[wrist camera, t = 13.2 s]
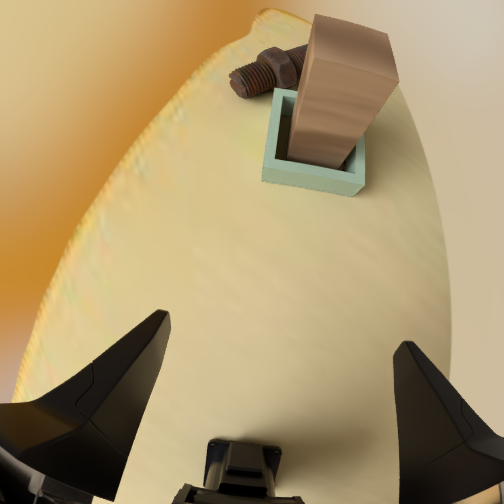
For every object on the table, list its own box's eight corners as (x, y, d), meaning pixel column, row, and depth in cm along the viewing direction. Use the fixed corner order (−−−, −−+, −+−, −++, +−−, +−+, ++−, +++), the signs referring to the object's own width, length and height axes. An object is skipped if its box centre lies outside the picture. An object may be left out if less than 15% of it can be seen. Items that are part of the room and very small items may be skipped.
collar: (352, 197, 23) (364, 185, 20) (261, 181, 23) (262, 166, 20) (353, 122, 24) (363, 105, 21) (272, 106, 24) (274, 87, 21)
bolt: (234, 104, 26) (343, 62, 27) (255, 120, 23) (373, 73, 24) (215, 57, 21) (336, 21, 22) (235, 65, 19) (368, 27, 19)
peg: (334, 174, 23) (399, 81, 10) (284, 165, 23) (314, 57, 10) (335, 133, 24) (387, 33, 11) (289, 124, 24) (314, 14, 11)
